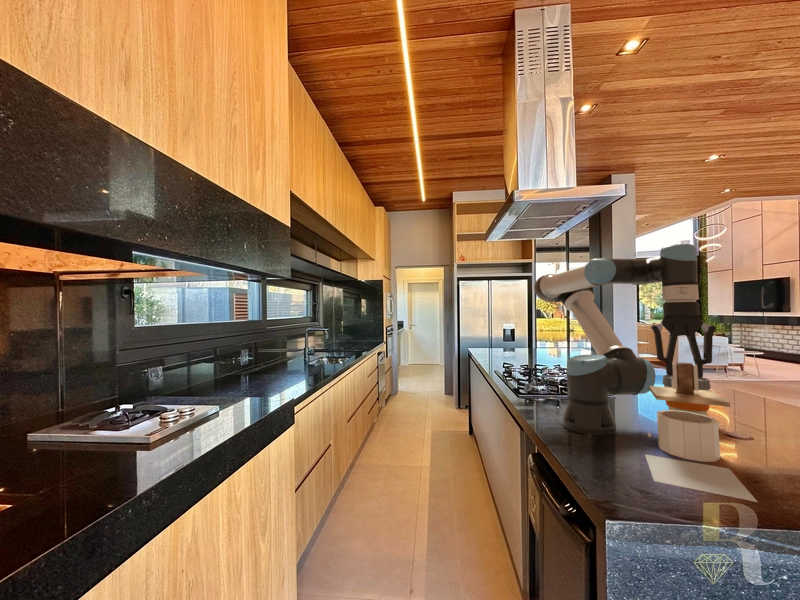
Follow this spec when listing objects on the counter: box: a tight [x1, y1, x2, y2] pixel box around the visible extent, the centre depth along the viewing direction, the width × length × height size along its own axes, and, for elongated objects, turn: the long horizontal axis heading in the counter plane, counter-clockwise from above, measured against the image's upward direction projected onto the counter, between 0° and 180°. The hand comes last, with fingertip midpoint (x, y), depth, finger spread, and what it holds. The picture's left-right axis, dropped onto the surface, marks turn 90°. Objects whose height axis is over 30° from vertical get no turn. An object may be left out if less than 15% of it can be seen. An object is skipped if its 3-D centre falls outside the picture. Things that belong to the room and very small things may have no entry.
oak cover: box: [649, 361, 731, 408], centre depth 88 cm, size 14×14×9 cm
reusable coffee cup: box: [662, 374, 712, 416], centre depth 113 cm, size 13×13×15 cm
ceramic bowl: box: [656, 409, 721, 463], centre depth 87 cm, size 12×12×10 cm
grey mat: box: [644, 454, 758, 503], centre depth 74 cm, size 16×16×1 cm
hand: (684, 388), depth 88 cm, fingers closed on oak cover, 4 cm apart
